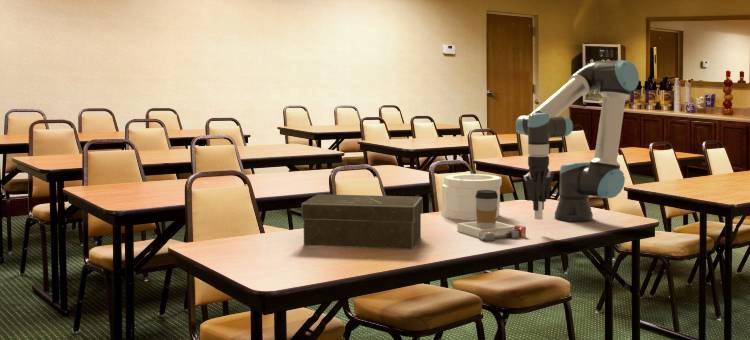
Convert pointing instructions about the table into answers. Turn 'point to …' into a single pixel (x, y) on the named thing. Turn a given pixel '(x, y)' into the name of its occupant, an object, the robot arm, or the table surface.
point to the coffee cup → (486, 208)
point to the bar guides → (491, 236)
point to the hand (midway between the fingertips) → (538, 218)
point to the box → (362, 221)
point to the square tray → (473, 230)
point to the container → (466, 194)
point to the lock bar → (505, 232)
